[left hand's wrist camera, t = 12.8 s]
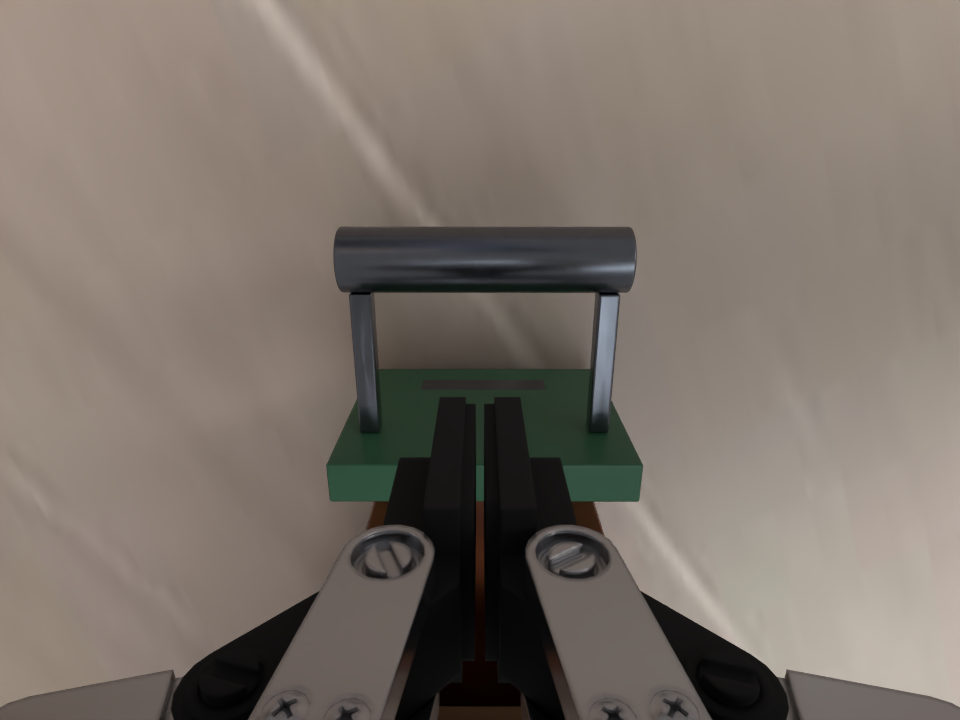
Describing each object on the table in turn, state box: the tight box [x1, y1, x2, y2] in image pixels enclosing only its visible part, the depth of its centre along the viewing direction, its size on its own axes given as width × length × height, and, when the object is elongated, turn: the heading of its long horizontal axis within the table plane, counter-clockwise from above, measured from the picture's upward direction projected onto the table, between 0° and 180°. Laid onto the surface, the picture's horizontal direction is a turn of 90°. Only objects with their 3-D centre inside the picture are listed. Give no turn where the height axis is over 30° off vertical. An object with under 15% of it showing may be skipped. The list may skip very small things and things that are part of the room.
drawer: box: [326, 227, 643, 706], centre depth 22 cm, size 24×9×7 cm, turn 0°
